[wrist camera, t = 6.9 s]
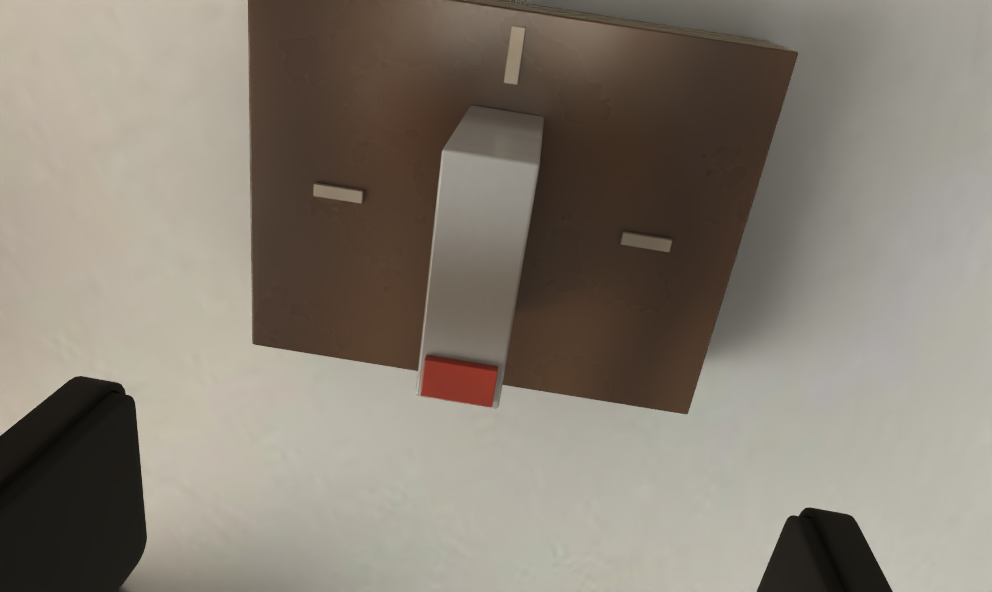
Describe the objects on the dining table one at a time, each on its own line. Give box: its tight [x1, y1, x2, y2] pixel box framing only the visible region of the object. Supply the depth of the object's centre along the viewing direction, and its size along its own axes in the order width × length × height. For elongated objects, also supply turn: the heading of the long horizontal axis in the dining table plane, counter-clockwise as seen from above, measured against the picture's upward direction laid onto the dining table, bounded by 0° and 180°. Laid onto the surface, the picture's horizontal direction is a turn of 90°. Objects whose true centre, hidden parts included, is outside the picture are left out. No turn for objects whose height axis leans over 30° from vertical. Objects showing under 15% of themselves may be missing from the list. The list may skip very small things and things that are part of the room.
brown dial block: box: [248, 0, 798, 414], centre depth 21 cm, size 14×11×3 cm
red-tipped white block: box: [416, 105, 544, 409], centre depth 18 cm, size 6×2×5 cm, turn 172°
